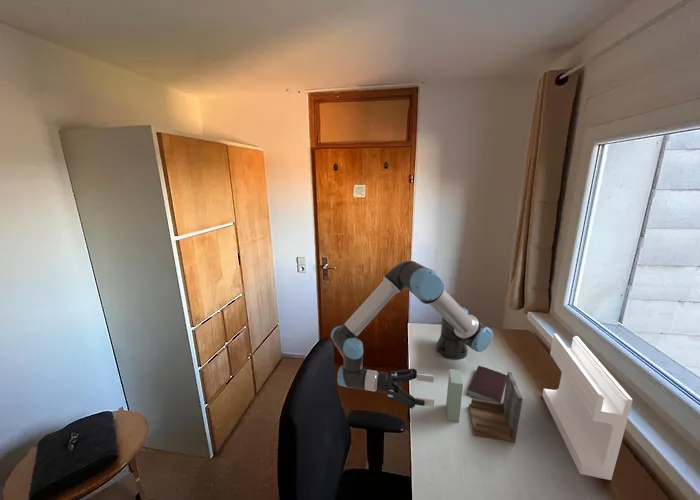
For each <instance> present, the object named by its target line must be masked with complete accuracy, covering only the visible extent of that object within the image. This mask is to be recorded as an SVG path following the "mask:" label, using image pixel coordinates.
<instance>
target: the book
mask: <svg viewBox="0 0 700 500" xmlns="http://www.w3.org/2000/svg"><path fill="white" fill-rule="evenodd" d="M476 368H477V369H476V370H475V373H474V375H473V378H472V380H471V382H470V384H469V386H468V388H467V392H466V395H467V396H471V397H474V398H475V399H478V400H485V401H491V402H498V403H502V401H503V397H504V393H505V387H506V380H507V375H506V374H504V373H503V372H502V373H501V372H499V371H496V370H494V369H491V368H488V367H485V366H481V365H478V366H477V367H476Z"/></svg>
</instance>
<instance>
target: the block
mask: <svg viewBox="0 0 700 500" xmlns="http://www.w3.org/2000/svg"><path fill="white" fill-rule="evenodd" d="M571 341H572V342H571V345H570V347H567V345H566V344H565V342H564V341H563V340H562V339H561V337H560V336H559V335H558V334H557V333H553V338H552V340H551V346H550V353H549V354H550V356H551V358H552V359H553V361H554V362H555V364H556V365H557V367H558V368H559V370H560V372H561V375H560V379H559V386H558V388H557V389H550V388H543V391H542V398H543V401H544V403H545V404H546V406H547V408H548V411H549V412H550V414H551V416H552V419H553V420H554V423H555V425H556V427H557V429H558V431H559V433H560V435H561V437H562V439H563V442H564V444H565V446H566V448H567V450H568V452H569V454H570V455H571V458H572V460H573V462H574V464H575V466H576V469H577V470H578V472H579V474H580V475H584V476H588V477H593V478H598V479H603V480H608V481H612V479H613V475H614V471H615V467H616V465H617V464H616V463H617V460H618V457H619V453H620V449H621V446H622V442H623V438H624V433H625V430H626V427H627V425H628V420H629V415H630V412H631V408H632V405H633V400H634V399H633V398H632V397H631V396H630V394H629V393H627V391H626V390H625V388H624V387H623V386H621V384H620V383H619V382H618V381H617V380H616V378H615V377H614V376H613V375H612V374H611V373H610V372H609V371H608V370H607V369H606V367H605V366H604V365H603V364H602V362H601V361H600V360H599V359H598V358H597V356H595V354H594V353H593V352H592V351H591V350H590V349H589V348H588V347H587V345H586V343H584V342H583V341H582V339H581V338H580V337H579V336H578V335H575V336H573V337H572V340H571Z"/></svg>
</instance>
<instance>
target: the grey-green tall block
mask: <svg viewBox="0 0 700 500" xmlns="http://www.w3.org/2000/svg"><path fill="white" fill-rule="evenodd" d="M463 382H464V381H463V375H462V371H461V369H459V370H458V369H453V368H452V369H451V368H449V370H448V380H447V391H446V392H447V393H446V401H445V407H446V408H445V409H446V419H447V421H449V422H456V423H459V422H460V415H461V407H462V396H463V388H464V383H463Z"/></svg>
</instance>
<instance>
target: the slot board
mask: <svg viewBox="0 0 700 500" xmlns="http://www.w3.org/2000/svg"><path fill="white" fill-rule="evenodd" d="M523 399H524V398H523V395H522V394H521V392H520V389H519V387H518V385H517V382H516V380H515V378H514V375H513V372H512V371H507V380H506V384H505V388H504V393H503V399H502V401H503V402H501V403H498V402H491V401H485V400H482V399H479V398H471V400H470V401H471V403H468V409H469V411H468V412H469V416H470V421H471V426H472V432H473V436H475V437H480V438H485V439H490V440H496V441H503V442H507V443H512V444H516V441H517V440H516V439H517V434H518V428H519V423H520V417H521V416H520V415H521V410H522V405H523Z"/></svg>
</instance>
